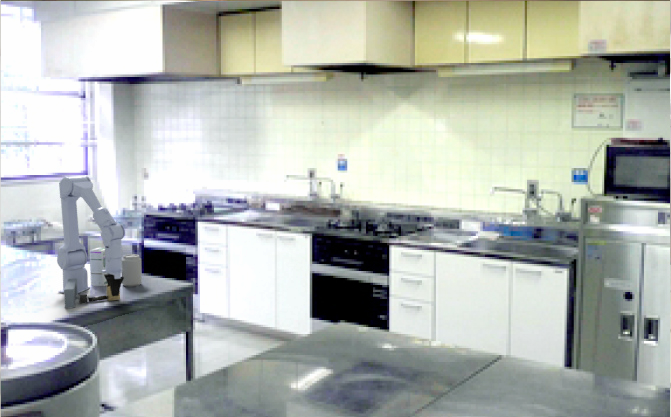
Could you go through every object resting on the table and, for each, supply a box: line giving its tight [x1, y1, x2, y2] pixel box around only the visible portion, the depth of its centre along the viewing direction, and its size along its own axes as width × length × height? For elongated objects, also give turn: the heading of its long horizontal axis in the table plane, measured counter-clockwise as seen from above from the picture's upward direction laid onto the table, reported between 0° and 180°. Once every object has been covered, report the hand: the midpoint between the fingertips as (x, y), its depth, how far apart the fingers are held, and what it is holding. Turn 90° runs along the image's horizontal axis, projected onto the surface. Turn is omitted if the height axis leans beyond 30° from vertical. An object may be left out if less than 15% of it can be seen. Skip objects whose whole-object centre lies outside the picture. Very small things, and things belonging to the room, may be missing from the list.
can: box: [121, 253, 143, 288], centre depth 264 cm, size 8×8×12 cm
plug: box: [78, 284, 121, 305], centre depth 239 cm, size 14×4×5 cm, turn 119°
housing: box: [63, 279, 79, 309], centre depth 237 cm, size 3×17×7 cm, turn 18°
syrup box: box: [89, 247, 108, 287], centre depth 264 cm, size 6×6×14 cm
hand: (114, 294), depth 242 cm, fingers closed on plug, 4 cm apart
